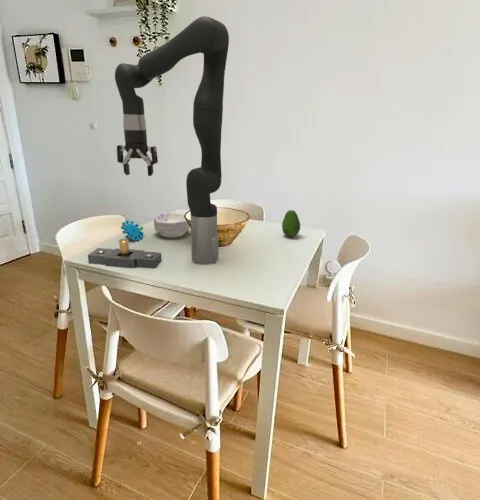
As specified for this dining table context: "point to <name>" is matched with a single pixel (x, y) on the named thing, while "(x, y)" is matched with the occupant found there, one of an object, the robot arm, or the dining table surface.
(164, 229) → the paper bowls
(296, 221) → the avocado
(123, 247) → the pin
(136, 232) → the gear
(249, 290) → the dining table surface
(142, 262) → the grey block with hole
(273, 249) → the dining table surface
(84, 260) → the dining table surface
